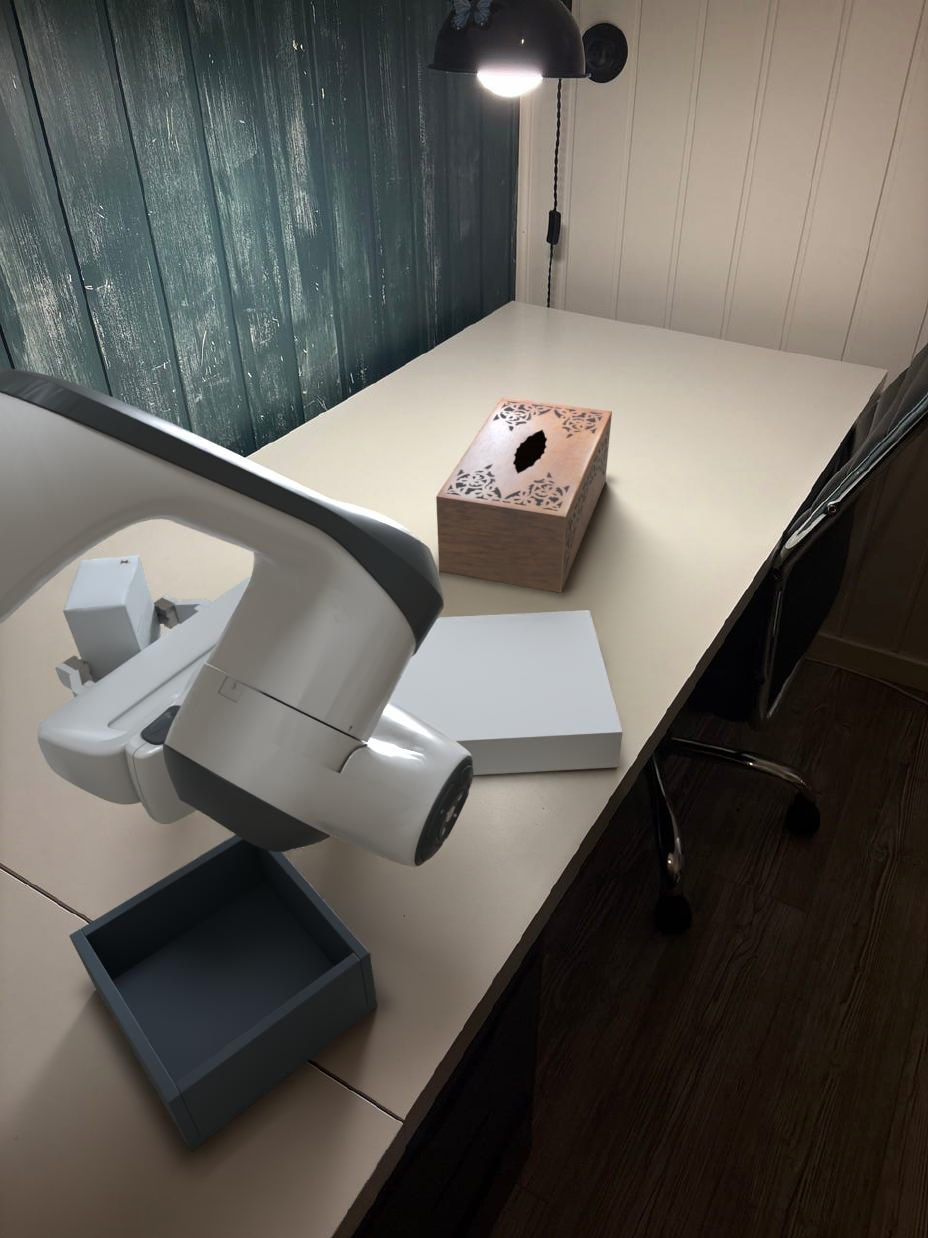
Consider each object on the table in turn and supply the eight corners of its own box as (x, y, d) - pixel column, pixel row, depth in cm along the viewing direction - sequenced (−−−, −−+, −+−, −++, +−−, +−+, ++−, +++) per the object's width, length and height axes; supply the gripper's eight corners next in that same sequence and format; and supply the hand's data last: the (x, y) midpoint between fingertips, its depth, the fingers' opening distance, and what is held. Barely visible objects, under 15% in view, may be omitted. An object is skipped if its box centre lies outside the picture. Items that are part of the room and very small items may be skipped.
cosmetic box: (122, 682, 72) (79, 557, 65) (177, 677, 73) (141, 553, 65) (107, 738, 68) (60, 610, 60) (166, 732, 68) (126, 604, 60)
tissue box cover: (501, 465, 125) (501, 397, 119) (605, 480, 122) (611, 411, 115) (439, 570, 106) (436, 496, 100) (560, 592, 103) (565, 516, 96)
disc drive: (369, 654, 95) (365, 617, 92) (586, 644, 95) (589, 606, 92) (365, 785, 81) (360, 746, 78) (618, 771, 82) (623, 732, 79)
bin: (191, 1152, 58) (168, 1103, 53) (95, 988, 66) (68, 935, 62) (377, 1006, 65) (370, 953, 61) (269, 875, 74) (256, 821, 69)
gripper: (349, 591, 65) (211, 533, 71) (117, 774, 52) (-27, 683, 58) (357, 658, 69) (226, 598, 75) (143, 844, 56) (5, 752, 62)
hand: (113, 636), depth 66 cm, fingers closed on cosmetic box, 7 cm apart
